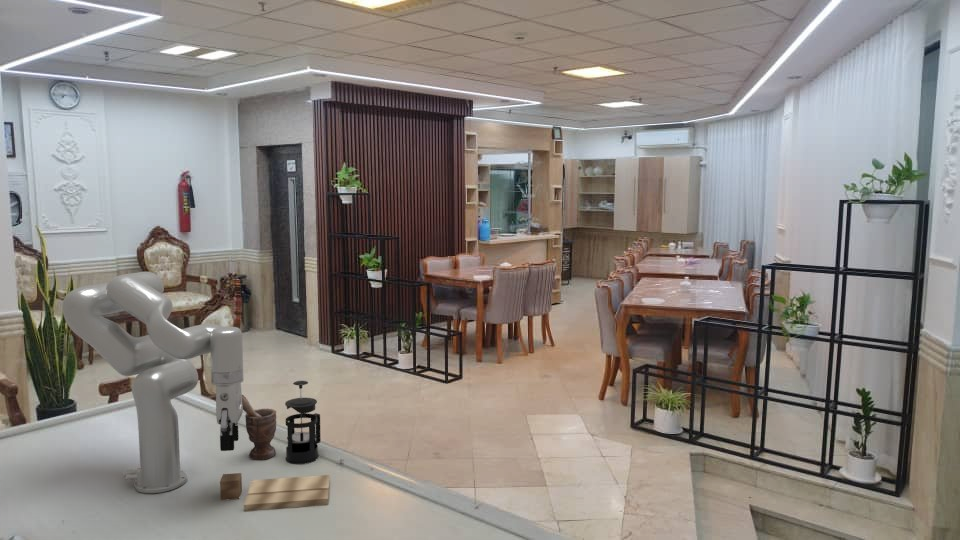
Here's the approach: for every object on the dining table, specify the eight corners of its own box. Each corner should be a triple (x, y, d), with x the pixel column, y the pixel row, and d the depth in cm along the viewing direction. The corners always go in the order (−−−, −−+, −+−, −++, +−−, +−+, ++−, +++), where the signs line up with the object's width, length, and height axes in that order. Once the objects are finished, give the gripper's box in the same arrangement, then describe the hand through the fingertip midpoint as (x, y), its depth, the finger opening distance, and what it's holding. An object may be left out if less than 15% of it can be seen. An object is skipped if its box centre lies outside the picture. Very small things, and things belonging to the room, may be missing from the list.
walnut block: (220, 500, 167) (219, 481, 167) (223, 492, 172) (223, 474, 171) (239, 499, 168) (238, 480, 168) (241, 491, 173) (241, 472, 172)
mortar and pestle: (256, 467, 188) (254, 398, 185) (232, 462, 191) (230, 395, 189) (283, 452, 198) (281, 388, 196) (260, 448, 202) (258, 384, 199)
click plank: (247, 499, 168) (247, 493, 168) (251, 485, 174) (251, 480, 174) (328, 493, 172) (328, 488, 171) (329, 480, 178) (329, 474, 178)
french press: (298, 467, 188) (296, 388, 185) (276, 459, 193) (274, 383, 190) (329, 454, 197) (328, 379, 195) (308, 447, 203) (306, 374, 200)
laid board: (244, 511, 162) (243, 504, 162) (247, 500, 167) (247, 494, 167) (328, 504, 166) (327, 498, 165) (328, 494, 171) (328, 488, 171)
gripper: (237, 385, 159) (239, 457, 161) (248, 366, 176) (250, 432, 178) (204, 386, 157) (207, 459, 159) (218, 368, 174) (220, 434, 176)
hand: (229, 444), depth 169 cm, fingers open, 5 cm apart
